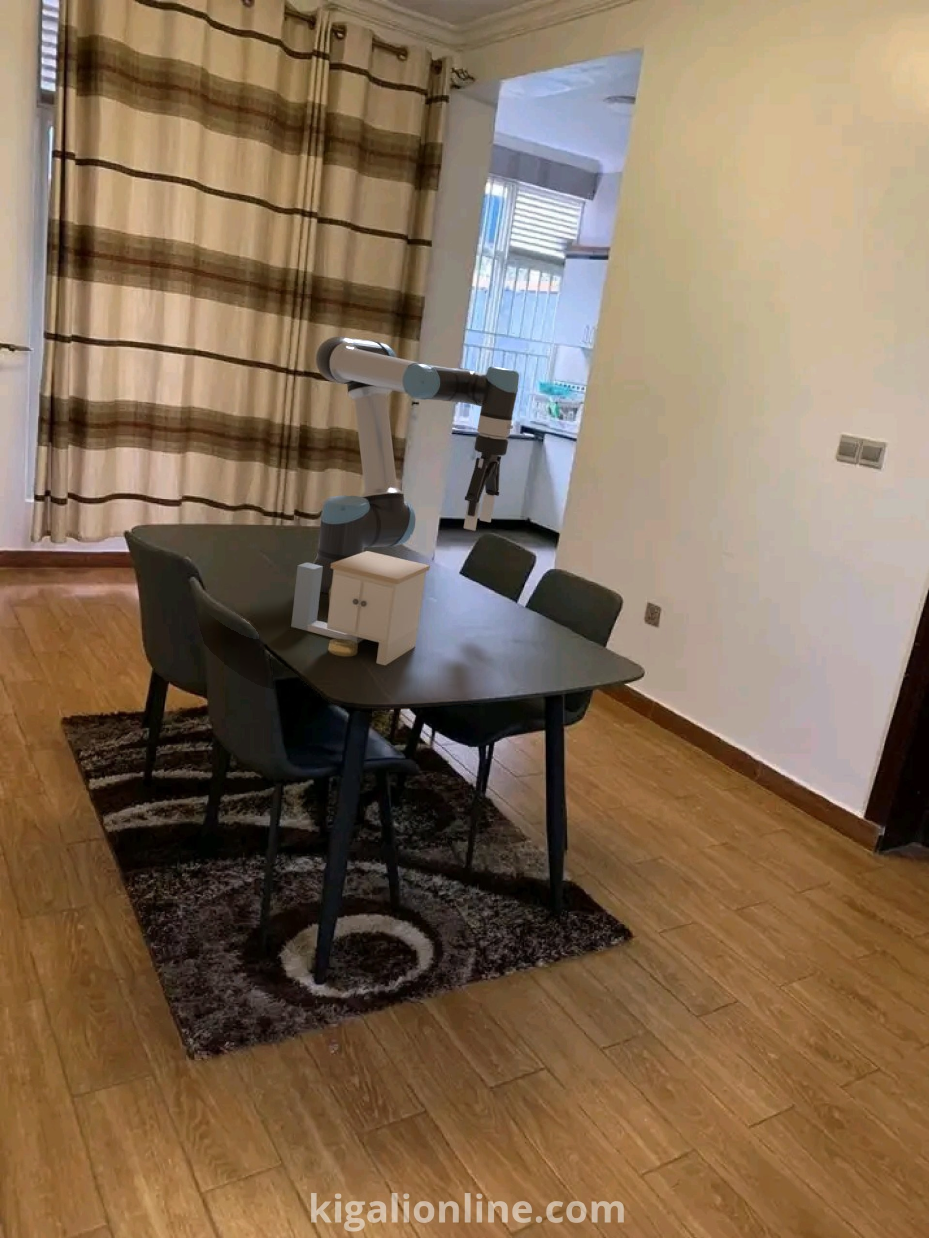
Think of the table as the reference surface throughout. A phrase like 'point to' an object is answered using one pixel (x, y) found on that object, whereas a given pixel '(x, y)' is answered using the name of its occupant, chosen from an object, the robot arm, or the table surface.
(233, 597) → the table surface
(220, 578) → the table surface
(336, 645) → the token
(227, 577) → the table surface
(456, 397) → the robot arm
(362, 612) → the cabinet
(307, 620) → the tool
